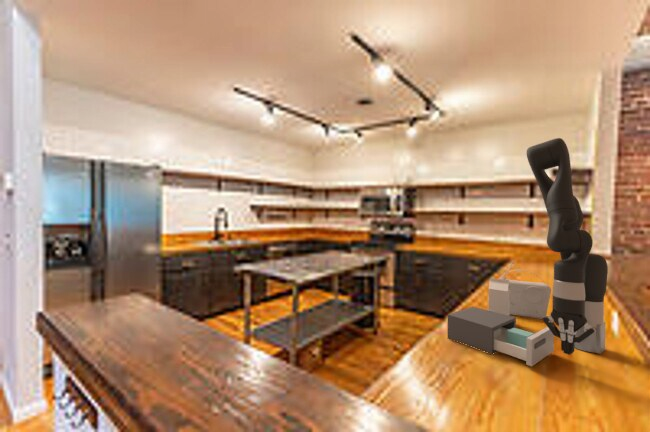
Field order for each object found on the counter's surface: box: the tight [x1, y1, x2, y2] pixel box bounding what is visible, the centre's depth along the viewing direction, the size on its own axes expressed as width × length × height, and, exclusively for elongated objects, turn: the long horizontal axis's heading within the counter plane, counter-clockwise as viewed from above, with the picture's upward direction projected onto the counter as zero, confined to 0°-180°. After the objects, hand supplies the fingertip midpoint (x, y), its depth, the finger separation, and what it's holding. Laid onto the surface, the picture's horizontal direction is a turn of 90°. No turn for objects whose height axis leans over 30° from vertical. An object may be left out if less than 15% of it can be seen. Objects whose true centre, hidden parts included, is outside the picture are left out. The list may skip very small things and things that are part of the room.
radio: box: [498, 261, 552, 320], centre depth 139 cm, size 22×8×25 cm, turn 62°
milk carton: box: [487, 277, 510, 316], centre depth 128 cm, size 7×7×19 cm
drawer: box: [494, 326, 555, 367], centre depth 100 cm, size 16×18×8 cm
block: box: [507, 327, 535, 349], centre depth 99 cm, size 6×5×5 cm
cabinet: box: [447, 306, 517, 355], centre depth 110 cm, size 16×18×9 cm
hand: (567, 353), depth 89 cm, fingers closed
